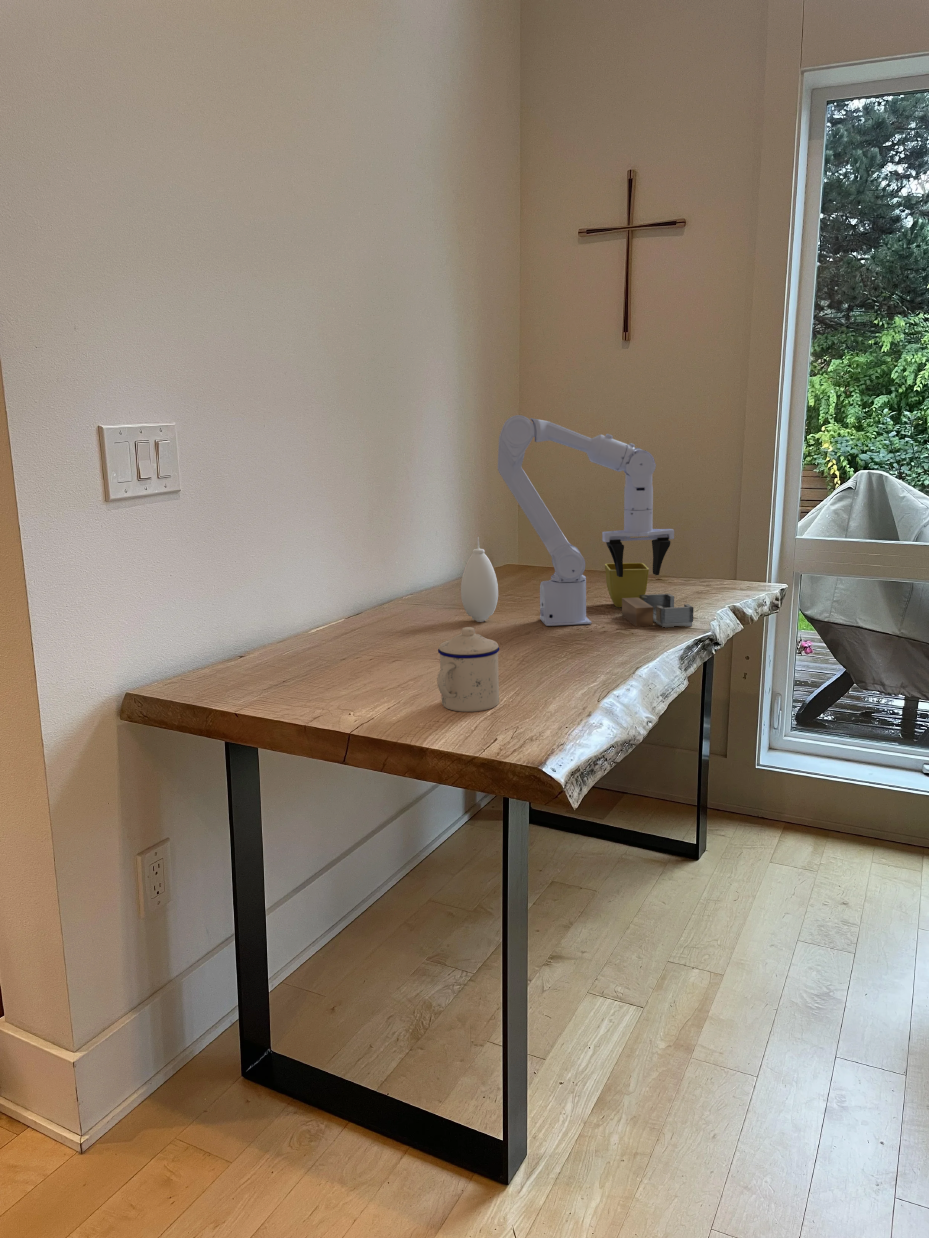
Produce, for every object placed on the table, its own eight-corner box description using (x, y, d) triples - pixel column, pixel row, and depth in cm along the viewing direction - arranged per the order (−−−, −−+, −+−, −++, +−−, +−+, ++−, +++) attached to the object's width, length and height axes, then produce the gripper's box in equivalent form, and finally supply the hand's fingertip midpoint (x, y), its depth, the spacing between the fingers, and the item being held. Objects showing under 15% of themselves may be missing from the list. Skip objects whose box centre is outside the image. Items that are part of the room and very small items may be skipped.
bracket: (661, 627, 186) (661, 609, 186) (639, 612, 202) (639, 594, 201) (693, 626, 187) (693, 607, 186) (668, 610, 203) (669, 593, 202)
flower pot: (649, 608, 205) (649, 568, 204) (609, 609, 206) (609, 569, 204) (642, 601, 214) (642, 562, 212) (604, 602, 214) (604, 563, 212)
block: (636, 627, 189) (636, 608, 188) (621, 616, 199) (622, 598, 198) (653, 626, 189) (653, 607, 188) (638, 615, 200) (638, 597, 199)
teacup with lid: (463, 692, 146) (460, 619, 144) (512, 700, 141) (510, 625, 139) (415, 712, 137) (412, 635, 134) (466, 722, 131) (464, 641, 129)
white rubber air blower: (465, 626, 194) (463, 539, 190) (458, 618, 201) (456, 535, 197) (502, 623, 195) (500, 537, 191) (494, 616, 203) (492, 533, 199)
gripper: (608, 512, 185) (608, 580, 188) (679, 509, 186) (678, 576, 189) (599, 509, 192) (599, 574, 194) (668, 506, 193) (667, 571, 196)
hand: (637, 575), depth 192 cm, fingers open, 7 cm apart
